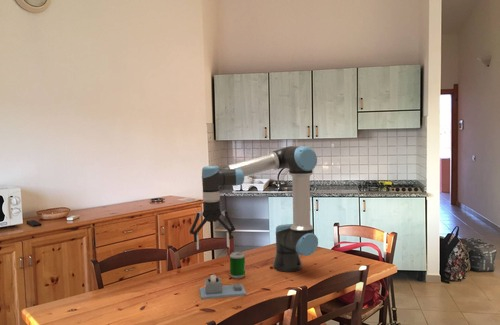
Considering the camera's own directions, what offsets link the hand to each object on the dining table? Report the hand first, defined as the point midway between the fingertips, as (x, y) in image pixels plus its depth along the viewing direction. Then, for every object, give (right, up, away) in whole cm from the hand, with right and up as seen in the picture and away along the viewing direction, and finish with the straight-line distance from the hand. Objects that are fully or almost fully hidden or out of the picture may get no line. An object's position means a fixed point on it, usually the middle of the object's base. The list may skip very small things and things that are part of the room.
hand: (213, 247), depth 191 cm
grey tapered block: (0, -20, +1) cm, 20 cm away
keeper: (+4, -21, +2) cm, 21 cm away
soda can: (+10, -19, +23) cm, 32 cm away
